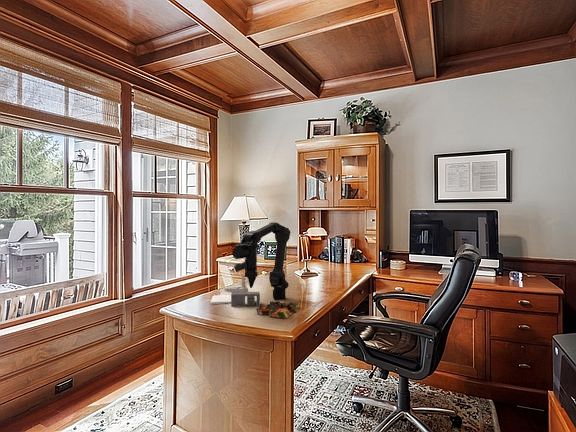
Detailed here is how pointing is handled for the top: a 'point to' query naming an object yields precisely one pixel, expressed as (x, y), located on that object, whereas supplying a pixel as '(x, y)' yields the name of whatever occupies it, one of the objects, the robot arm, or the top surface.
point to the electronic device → (238, 289)
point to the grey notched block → (243, 298)
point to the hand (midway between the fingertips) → (251, 287)
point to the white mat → (221, 299)
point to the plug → (250, 301)
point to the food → (277, 309)
